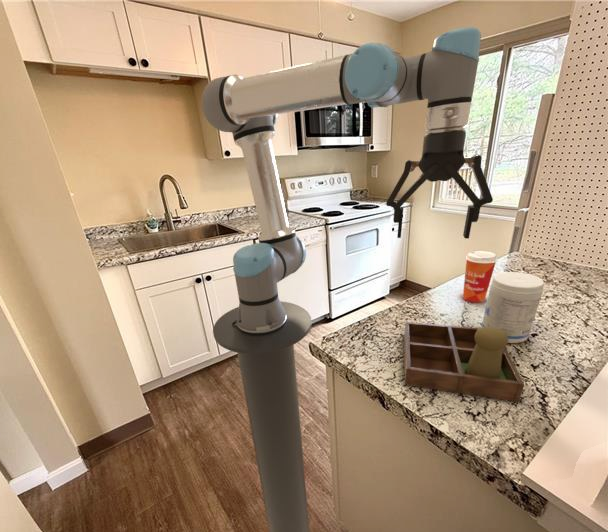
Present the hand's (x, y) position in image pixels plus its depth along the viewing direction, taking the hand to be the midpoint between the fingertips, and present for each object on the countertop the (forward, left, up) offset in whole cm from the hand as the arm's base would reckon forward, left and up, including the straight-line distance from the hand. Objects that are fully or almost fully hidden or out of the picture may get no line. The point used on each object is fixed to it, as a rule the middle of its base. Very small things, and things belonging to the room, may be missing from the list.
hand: (431, 236), depth 70 cm
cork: (+10, -17, -25) cm, 32 cm away
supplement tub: (+19, +2, -25) cm, 32 cm away
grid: (+6, -13, -25) cm, 29 cm away
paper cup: (+16, +22, -25) cm, 37 cm away
